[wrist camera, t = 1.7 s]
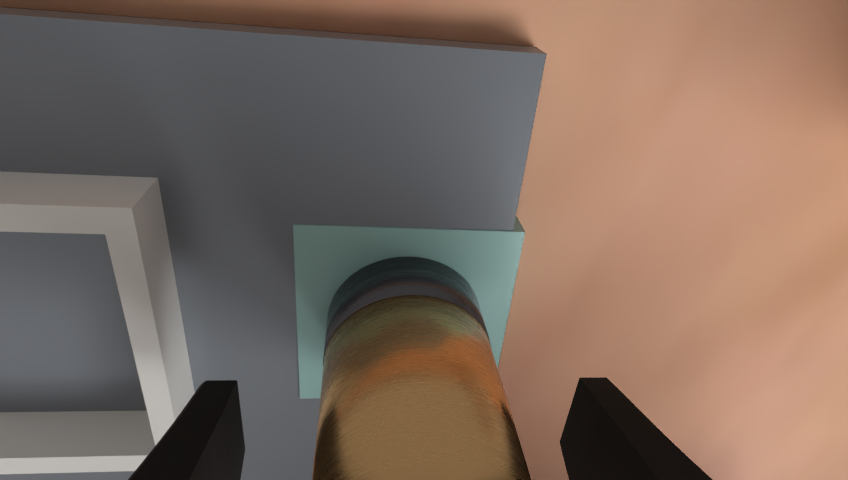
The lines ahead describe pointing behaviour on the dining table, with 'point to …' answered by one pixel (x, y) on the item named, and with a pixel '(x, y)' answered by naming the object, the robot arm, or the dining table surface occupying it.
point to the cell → (412, 381)
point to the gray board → (228, 217)
